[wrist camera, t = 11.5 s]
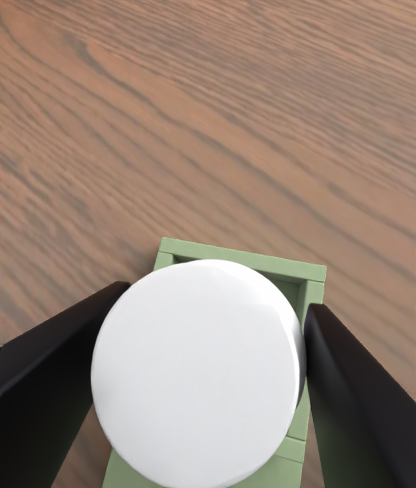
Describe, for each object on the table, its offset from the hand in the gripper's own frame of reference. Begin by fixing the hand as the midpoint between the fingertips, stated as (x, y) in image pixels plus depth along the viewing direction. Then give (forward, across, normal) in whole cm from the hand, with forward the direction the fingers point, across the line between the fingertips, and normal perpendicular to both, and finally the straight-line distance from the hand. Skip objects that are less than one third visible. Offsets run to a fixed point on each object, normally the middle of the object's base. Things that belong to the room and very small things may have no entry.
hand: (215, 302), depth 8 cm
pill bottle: (+4, 0, +6) cm, 7 cm away
